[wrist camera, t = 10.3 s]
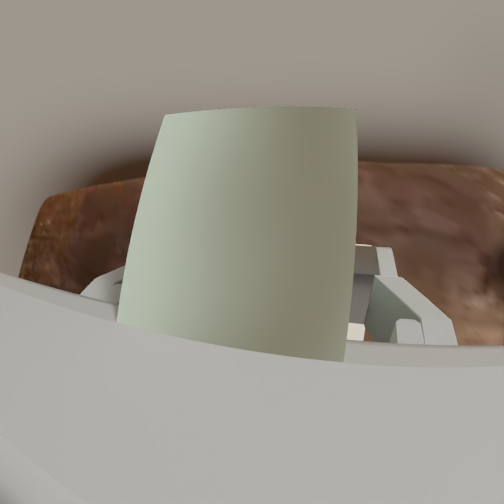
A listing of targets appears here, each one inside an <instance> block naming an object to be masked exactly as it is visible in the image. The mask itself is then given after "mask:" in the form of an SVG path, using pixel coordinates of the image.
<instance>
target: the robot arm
mask: <svg viewBox="0 0 504 504" xmlns="http://www.w3.org/2000/svg"><path fill="white" fill-rule="evenodd" d="M124 271H125V266H123V267H121V268H118V269H116V270H114V271H111V272H109V273H107V274H104V275H102V276H100V277H97V278H95V279H94V280H93V281H92V282H91V283H90V284H89V285H88V286H87V287H86V288H85V290H84V291H83V292H82V293H81V294H80V295H79V294H75V293H71V292H67V291H63V290H60V289H56V288H52V287H49V286H45V285H42V284H38V283H35V282H31V281H28V280H24V279H21V278H18V277H14V276H11V275H8V274H5V273H2V272H0V504H504V345H458V343H457V339H456V336H455V332H454V328H453V325H452V321H451V320H450V319H449V318H448V317H447V316H446V315H445V314H444V313H443V312H441V311H440V310H439V309H438V308H437V307H436V306H435V305H434V304H432V303H431V302H430V301H429V300H428V299H427V298H426V297H424V296H423V295H422V294H421V293H420V292H419V291H417V290H416V289H415V288H414V287H413V286H412V285H410V284H409V283H408V282H407V281H406V280H405V279H403V278H402V277H398V276H397V271H396V266H395V262H394V257H393V253H392V249H391V248H390V247H374V246H358V245H355V261H354V274H353V286H352V297H351V306H350V316H349V323H356V324H364V326H365V328H366V329H367V331H368V332H369V334H370V335H371V337H372V338H373V340H374V341H375V342H370V341H357V340H346V347H345V354H344V361H343V362H334V361H324V360H315V359H306V358H298V357H290V356H283V355H275V354H268V353H262V352H255V351H249V350H243V349H237V348H231V347H225V346H220V345H215V344H209V343H204V342H199V341H194V340H189V339H184V338H180V337H175V336H171V335H166V334H162V333H157V332H153V331H149V330H145V329H141V328H137V327H133V326H129V325H125V324H121V323H117V322H116V321H117V314H118V307H119V300H120V294H121V288H122V282H123V276H124Z"/></svg>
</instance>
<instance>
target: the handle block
mask: <svg viewBox="0 0 504 504" xmlns="http://www.w3.org/2000/svg"><path fill="white" fill-rule="evenodd" d="M357 155H358V154H357V120H356V109H346V108H326V107H254V108H253V107H252V108H233V109H218V110H206V111H195V112H186V113H178V114H170V115H165V117H164V120H163V123H162V126H161V129H160V132H159V135H158V138H157V141H156V144H155V148H154V151H153V154H152V158H151V161H150V165H149V168H148V172H147V175H146V179H145V182H144V186H143V190H142V194H141V198H140V202H139V206H138V210H137V214H136V218H135V222H134V227H133V231H132V236H131V240H130V245H129V250H128V255H127V260H126V265H125V271H124V276H123V282H122V288H121V294H120V300H119V307H118V314H117V321H116V322H117V323H121V324H125V325H129V326H133V327H137V328H141V329H145V330H149V331H153V332H157V333H162V334H166V335H171V336H175V337H180V338H184V339H189V340H194V341H199V342H204V343H209V344H215V345H220V346H225V347H231V348H237V349H243V350H249V351H255V352H262V353H268V354H275V355H283V356H290V357H298V358H306V359H315V360H324V361H334V362H343V361H344V354H345V347H346V340H347V332H348V324H349V316H350V306H351V297H352V286H353V274H354V261H355V245H356V225H357V191H358V156H357Z"/></svg>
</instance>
